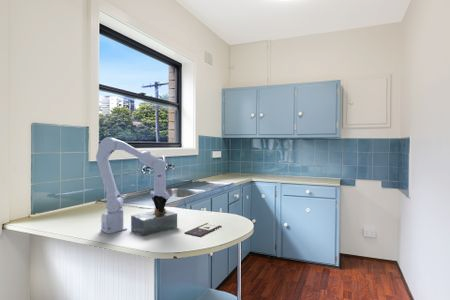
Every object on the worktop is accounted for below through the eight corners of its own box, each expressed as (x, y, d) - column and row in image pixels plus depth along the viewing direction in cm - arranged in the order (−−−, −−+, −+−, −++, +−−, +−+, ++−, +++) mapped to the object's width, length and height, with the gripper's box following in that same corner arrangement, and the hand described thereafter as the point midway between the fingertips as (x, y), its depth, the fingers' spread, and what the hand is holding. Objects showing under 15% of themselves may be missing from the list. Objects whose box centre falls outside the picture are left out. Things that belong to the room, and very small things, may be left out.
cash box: (143, 236, 125) (143, 220, 125) (131, 230, 134) (131, 215, 134) (177, 227, 138) (177, 213, 138) (163, 222, 146) (163, 209, 146)
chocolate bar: (184, 232, 129) (206, 223, 144) (184, 234, 129) (206, 224, 144) (200, 235, 124) (221, 225, 140) (200, 238, 124) (221, 227, 140)
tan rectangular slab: (156, 220, 135) (156, 209, 135) (154, 219, 137) (154, 209, 137) (165, 218, 139) (165, 208, 139) (163, 218, 140) (163, 208, 140)
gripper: (175, 184, 135) (175, 212, 135) (159, 181, 145) (159, 207, 146) (162, 186, 130) (162, 215, 130) (146, 183, 140) (146, 210, 141)
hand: (159, 211), depth 138 cm, fingers closed on tan rectangular slab, 2 cm apart
